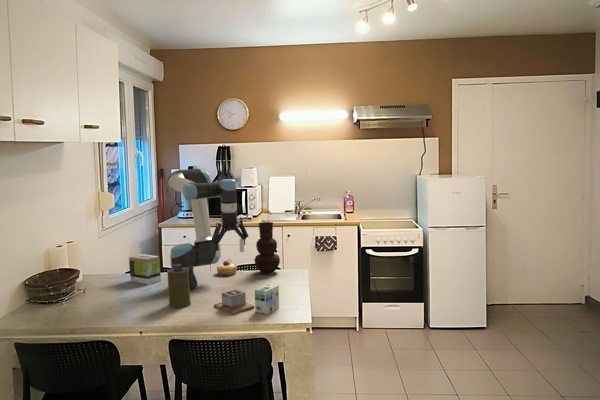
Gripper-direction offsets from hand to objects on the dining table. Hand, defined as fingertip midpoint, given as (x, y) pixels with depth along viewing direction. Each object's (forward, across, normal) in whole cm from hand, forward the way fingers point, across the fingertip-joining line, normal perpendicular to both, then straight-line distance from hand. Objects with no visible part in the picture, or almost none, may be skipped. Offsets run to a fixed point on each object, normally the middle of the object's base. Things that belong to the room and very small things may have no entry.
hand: (230, 254), depth 246 cm
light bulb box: (+23, +4, -23) cm, 33 cm away
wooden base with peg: (+23, -5, -9) cm, 26 cm away
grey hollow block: (+22, -5, -9) cm, 24 cm away
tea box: (+26, -15, +65) cm, 72 cm away
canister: (+24, -21, +13) cm, 35 cm away
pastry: (+25, +27, +45) cm, 58 cm away
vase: (+25, +45, +29) cm, 59 cm away
